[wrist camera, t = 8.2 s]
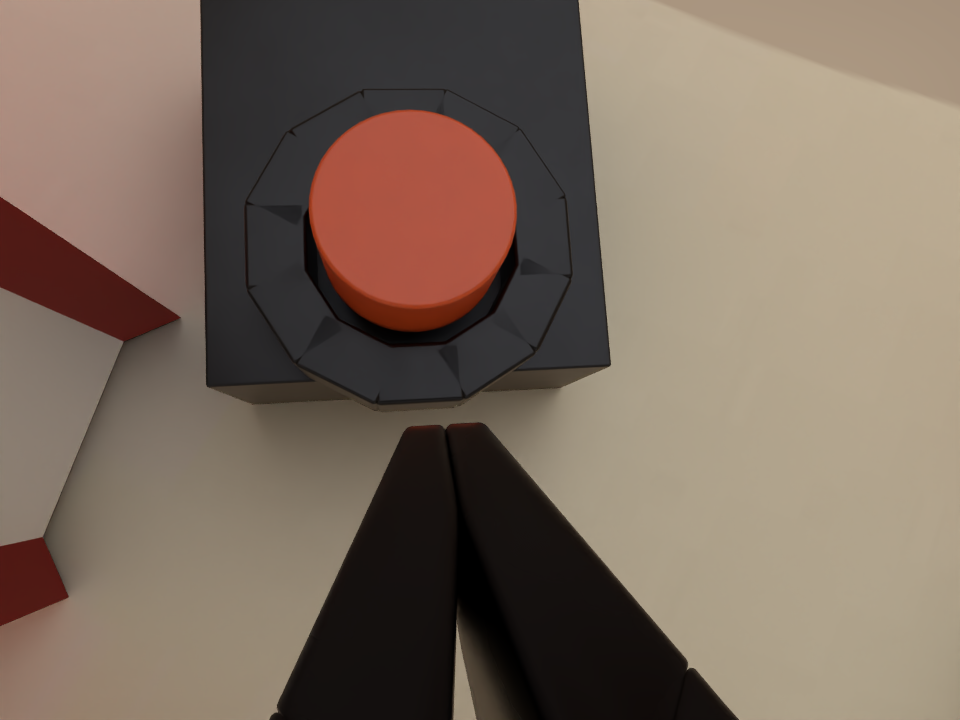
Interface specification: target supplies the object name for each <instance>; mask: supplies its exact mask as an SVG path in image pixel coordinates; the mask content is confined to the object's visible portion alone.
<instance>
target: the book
mask: <svg viewBox="0 0 960 720" xmlns="http://www.w3.org/2000/svg"><path fill="white" fill-rule="evenodd" d="M179 318H181V317H179V316H178V315H176V314H175V313H173V312H172V311H170V310H169V309H167V308H166V307H164V306H163V305H161V304H160V303H158V302H157V301H155V300H154V299H152V298H151V297H149V296H148V295H146V294H145V293H143V292H142V291H140V290H139V289H137V288H136V287H134V286H133V285H131V284H130V283H128V282H127V281H125V280H124V279H122V278H121V277H119V276H118V275H116V274H115V273H114V272H112V271H111V270H109V269H108V268H106V267H105V266H103V265H102V264H100V263H99V262H97V261H96V260H94V259H93V258H91V257H90V256H88V255H87V254H85V253H84V252H82V251H81V250H79V249H78V248H76V247H75V246H73V245H72V244H70V243H69V242H67V241H66V240H64V239H63V238H61V237H60V236H58V235H57V234H55V233H54V232H52V231H51V230H49V229H48V228H46V227H45V226H43V225H42V224H40V223H39V222H37V221H36V220H34V219H33V218H31V217H30V216H28V215H27V214H25V213H24V212H22V211H21V210H19V209H18V208H16V207H15V206H13V205H12V204H10V203H9V202H7V201H6V200H4V199H3V198H1V197H0V626H2V625H4V624H6V623H9V622H11V621H13V620H16V619H18V618H21V617H23V616H25V615H28V614H30V613H33V612H35V611H37V610H40V609H42V608H44V607H47V606H49V605H52V604H54V603H56V602H59V601H61V600H63V599H66V598H68V594H67V592H66V590H65V587H64V585H63V583H62V580H61V578H60V576H59V573H58V571H57V569H56V567H55V564H54V562H53V560H52V557H51V555H50V553H49V550H48V548H47V546H46V543H45V541H44V539H43V535H44V533H45V530H46V528H47V526H48V523H49V521H50V518H51V516H52V513H53V511H54V509H55V506H56V504H57V501H58V499H59V497H60V494H61V492H62V489H63V487H64V484H65V482H66V480H67V477H68V475H69V472H70V470H71V468H72V465H73V463H74V460H75V458H76V455H77V453H78V451H79V448H80V446H81V443H82V441H83V439H84V436H85V434H86V431H87V429H88V426H89V424H90V422H91V419H92V417H93V414H94V412H95V410H96V407H97V405H98V402H99V400H100V397H101V395H102V393H103V390H104V388H105V385H106V383H107V381H108V378H109V376H110V373H111V371H112V368H113V366H114V364H115V361H116V359H117V356H118V354H119V352H120V349H121V347H122V344H123V342H124V341H126V340H129V339H131V338H133V337H136V336H138V335H141V334H143V333H145V332H148V331H150V330H153V329H155V328H158V327H160V326H162V325H165V324H167V323H170V322H172V321H174V320H177V319H179Z"/></svg>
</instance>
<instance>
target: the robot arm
mask: <svg viewBox="0 0 960 720" xmlns="http://www.w3.org/2000/svg"><path fill="white" fill-rule="evenodd" d="M456 622H457V626H458V632H459V638H460V643H461V649H462V654H463V658H464V663H465V668H466V672H467V677H468V682H469V686H470V691H471V695H472V700H473V705H474V709H475V714H476V719H477V720H739V719H738V718H737V717H736V716H735V715H734V714H733V713H732V711H731V710H730V709H729V708H728V707H727V706H726V705H725V704H724V703H723V701H722V700H721V699H720V698H719V697H718V695H717V694H716V693H715V692H714V691H713V690H712V688H711V687H710V686H709V685H708V684H707V682H706V681H705V680H704V679H703V678H702V677H701V675H700V674H699V673H698V672H697V671H696V670H695V669H694V668H689V669H688V670H687V667H688V662H687V660H686V658H685V657H684V656H683V655H682V654H681V652H680V651H679V650H678V649H677V648H676V647H675V645H674V644H673V643H672V642H671V641H670V640H669V638H668V637H667V636H666V635H665V634H664V633H663V631H662V630H661V629H660V628H659V627H658V626H657V624H656V623H655V622H654V621H653V620H652V619H651V617H650V616H649V615H648V614H647V613H646V612H645V610H644V609H643V608H642V607H641V606H640V605H639V603H638V602H637V601H636V600H635V599H634V597H633V596H632V595H631V594H630V593H629V592H628V590H627V589H626V588H625V587H624V586H623V585H622V583H621V582H620V581H619V580H618V579H617V578H616V576H615V575H614V574H613V573H612V572H611V571H610V569H609V568H608V567H607V566H606V565H605V564H604V562H603V561H602V560H601V559H600V558H599V557H598V555H597V554H596V553H595V552H594V551H593V550H592V548H591V547H590V546H589V545H588V544H587V543H586V541H585V540H584V539H583V538H582V537H581V536H580V534H579V533H578V532H577V531H576V530H575V529H574V527H573V526H572V525H571V524H570V523H569V522H568V520H567V519H566V518H565V517H564V516H563V515H562V513H561V512H560V511H559V510H558V509H557V507H556V506H555V505H554V504H553V503H552V502H551V500H550V499H549V498H548V497H547V496H546V495H545V493H544V492H543V491H542V490H541V489H540V488H539V486H538V485H537V484H536V483H535V482H534V481H533V479H532V478H531V477H530V476H529V475H528V474H527V472H526V471H525V470H524V469H523V468H522V467H521V465H520V464H519V463H518V462H517V461H516V460H515V458H514V457H513V456H512V455H511V454H510V453H509V451H508V450H507V449H506V448H505V447H504V446H503V444H502V443H501V442H500V441H499V440H498V439H497V437H496V436H495V435H494V434H493V433H492V432H491V430H490V429H489V428H488V427H487V426H486V425H485V424H483V423H479V422H476V423H460V424H450V425H449V426H447V428H446V430H445V429H444V428H443V427H442V426H441V425H427V426H411V427H408V428H407V429H406V430H405V431H404V432H403V434H402V436H401V439H400V441H399V443H398V445H397V447H396V449H395V452H394V454H393V456H392V458H391V460H390V462H389V464H388V467H387V469H386V471H385V473H384V475H383V477H382V480H381V482H380V484H379V486H378V488H377V490H376V492H375V495H374V497H373V499H372V501H371V503H370V505H369V508H368V510H367V512H366V514H365V516H364V518H363V520H362V523H361V525H360V527H359V529H358V531H357V533H356V536H355V538H354V540H353V542H352V544H351V546H350V548H349V551H348V553H347V555H346V557H345V559H344V561H343V564H342V566H341V568H340V570H339V572H338V574H337V576H336V579H335V581H334V583H333V585H332V587H331V589H330V592H329V594H328V596H327V598H326V600H325V602H324V604H323V607H322V609H321V611H320V613H319V615H318V617H317V620H316V622H315V624H314V626H313V628H312V630H311V633H310V635H309V637H308V639H307V641H306V643H305V645H304V648H303V650H302V652H301V654H300V656H299V658H298V661H297V663H296V665H295V667H294V669H293V671H292V673H291V676H290V678H289V680H288V682H287V684H286V686H285V689H284V691H283V693H282V695H281V697H280V699H279V701H278V704H277V710H278V713H274V714H273V715H272V716H271V718H270V720H453V716H454V687H455V658H456Z"/></svg>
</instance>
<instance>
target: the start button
mask: <svg viewBox="0 0 960 720" xmlns="http://www.w3.org/2000/svg"><path fill="white" fill-rule="evenodd" d="M309 218H310V225H311V229H312V234H313V237H314V240H315V243H316V245H317V248H318V251H319V254H320V256H321V259H322V262H323V265H324V267H325V270H326V273H327V275H328V278H329V280H330V282H331V284H332V286H333V287H334V289H335V291H336V292H337V294H338V295H339V296H340V298H341V299H342V300H343V301H344V302H345V303H346V304H347V305H348V306H349V307H350V309H352V310H353V311H354V312H355V313H357V314H358V315H359V316H361V317H362V318H364V319H366V320H367V321H369V322H371V323H373V324H376V325H378V326H380V327H383V328H387V329H390V330H395V331H402V332H423V331H430V330H434V329H438V328H441V327H444V326H446V325H449V324H451V323H453V322H455V321H457V320H459V319H460V318H462V317H463V316H464V315H466V314H467V313H469V312H470V311H471V310H472V309H473V308H474V307H475V306H476V305H477V304H478V303H479V302H480V300H481V299H482V298H483V297H484V295H485V294H486V292H487V290H488V289H489V287H490V285H491V284H492V282H493V280H494V278H495V276H496V274H497V273H498V271H499V269H500V267H501V265H502V263H503V262H504V260H505V258H506V256H507V254H508V252H509V249H510V247H511V245H512V241H513V238H514V234H515V229H516V221H517V204H516V197H515V191H514V188H513V184H512V181H511V178H510V176H509V173H508V171H507V169H506V167H505V165H504V164H503V162H502V160H501V158H500V157H499V156H498V154H497V153H496V152H495V150H494V149H493V148H492V147H491V146H490V145H489V144H488V143H487V142H486V141H485V140H484V139H483V138H482V137H481V136H480V135H479V134H477V133H476V132H475V131H474V130H472V129H471V128H469V127H468V126H466V125H464V124H463V123H461V122H459V121H457V120H455V119H452V118H450V117H448V116H444V115H441V114H438V113H434V112H429V111H423V110H397V111H391V112H386V113H382V114H379V115H376V116H373V117H370V118H368V119H366V120H364V121H362V122H360V123H358V124H356V125H355V126H353V127H352V128H350V129H349V130H347V131H346V132H345V133H344V134H342V135H341V136H340V137H339V138H338V139H337V140H336V141H335V142H334V143H333V144H332V145H331V147H330V148H329V149H328V150H327V152H326V153H325V155H324V156H323V158H322V159H321V161H320V163H319V165H318V167H317V169H316V171H315V174H314V178H313V181H312V184H311V189H310V195H309Z"/></svg>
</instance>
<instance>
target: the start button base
mask: <svg viewBox="0 0 960 720" xmlns="http://www.w3.org/2000/svg"><path fill="white" fill-rule="evenodd" d="M200 14H201V79H202V144H203V209H204V274H205V338H206V385H207V387H209V388H212V389H214V390H217V391H220V392H222V393H225V394H227V395H230V396H232V397H235V398H238V399H240V400H243V401H245V402H248V403H251V404H271V403H289V402H307V401H326V400H344V399H352V400H354V401H356V402H358V403H360V404H362V405H364V406H366V407H368V408H370V409H372V410H374V411H378V410H379V411H381V412H389V411H407V410H424V409H442V408H454V407H456V406H460V405H462V404H464V403H465V402H467V401H468V400H470V399H471V398H473V397H474V396H476V395H477V394H479V393H480V392H490V391H509V390H527V389H545V388H561V387H563V386H566V385H568V384H570V383H572V382H575V381H577V380H579V379H582V378H584V377H586V376H589V375H591V374H593V373H596V372H598V371H600V370H602V369H605V368H607V367H609V366H610V365H611V360H610V349H609V337H608V326H607V315H606V304H605V293H604V281H603V270H602V259H601V248H600V237H599V225H598V214H597V203H596V192H595V181H594V169H593V158H592V147H591V136H590V125H589V113H588V102H587V91H586V80H585V69H584V58H583V46H582V35H581V24H580V13H579V2H578V0H200ZM397 110H423V111H429V112H434V113H438V114H441V115H444V116H448V117H450V118H452V119H455V120H457V121H459V122H461V123H463V124H464V125H466V126H468V127H469V128H471V129H472V130H474V131H475V132H476V133H477V134H479V135H480V136H481V137H482V138H483V139H484V140H485V141H486V142H487V143H488V144H489V145H490V146H491V147H492V148H493V149H494V150H495V152H496V153H497V154H498V156H499V157H500V158H501V160H502V162H503V164H504V165H505V167H506V169H507V171H508V173H509V176H510V178H511V181H512V184H513V188H514V191H515V197H516V204H517V221H516V229H515V234H514V238H513V241H512V245H511V247H510V249H509V252H508V254H507V256H506V258H505V260H504V262H503V263H502V265H501V267H500V269H499V271H498V273H497V274H496V276H495V278H494V280H493V282H492V284H491V285H490V287H489V289H488V290H487V292H486V294H485V295H484V297H483V298H482V299H481V300H480V302H479V303H478V304H477V305H476V306H475V307H474V308H473V309H472V310H471V311H470V312H469V313H467V314H466V315H464V316H463V317H462V318H460V319H459V320H457V321H455V322H453V323H451V324H449V325H446V326H444V327H441V328H438V329H434V330H430V331H423V332H402V331H395V330H390V329H387V328H383V327H380V326H378V325H376V324H373V323H371V322H369V321H367V320H366V319H364V318H362V317H361V316H359V315H358V314H357V313H355V312H354V311H353V310H352V309H350V307H349V306H348V305H347V304H346V303H345V302H344V301H343V300H342V299H341V298H340V296H339V295H338V294H337V292H336V291H335V289H334V287H333V286H332V284H331V282H330V280H329V278H328V275H327V273H326V270H325V267H324V265H323V262H322V259H321V256H320V254H319V251H318V248H317V245H316V243H315V240H314V237H313V234H312V229H311V225H310V218H309V195H310V189H311V184H312V181H313V178H314V174H315V171H316V169H317V167H318V165H319V163H320V161H321V159H322V158H323V156H324V155H325V153H326V152H327V150H328V149H329V148H330V147H331V145H332V144H333V143H334V142H335V141H336V140H337V139H338V138H339V137H340V136H341V135H342V134H344V133H345V132H346V131H347V130H349V129H350V128H352V127H353V126H355V125H356V124H358V123H360V122H362V121H364V120H366V119H368V118H370V117H373V116H376V115H379V114H382V113H386V112H391V111H397Z"/></svg>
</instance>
